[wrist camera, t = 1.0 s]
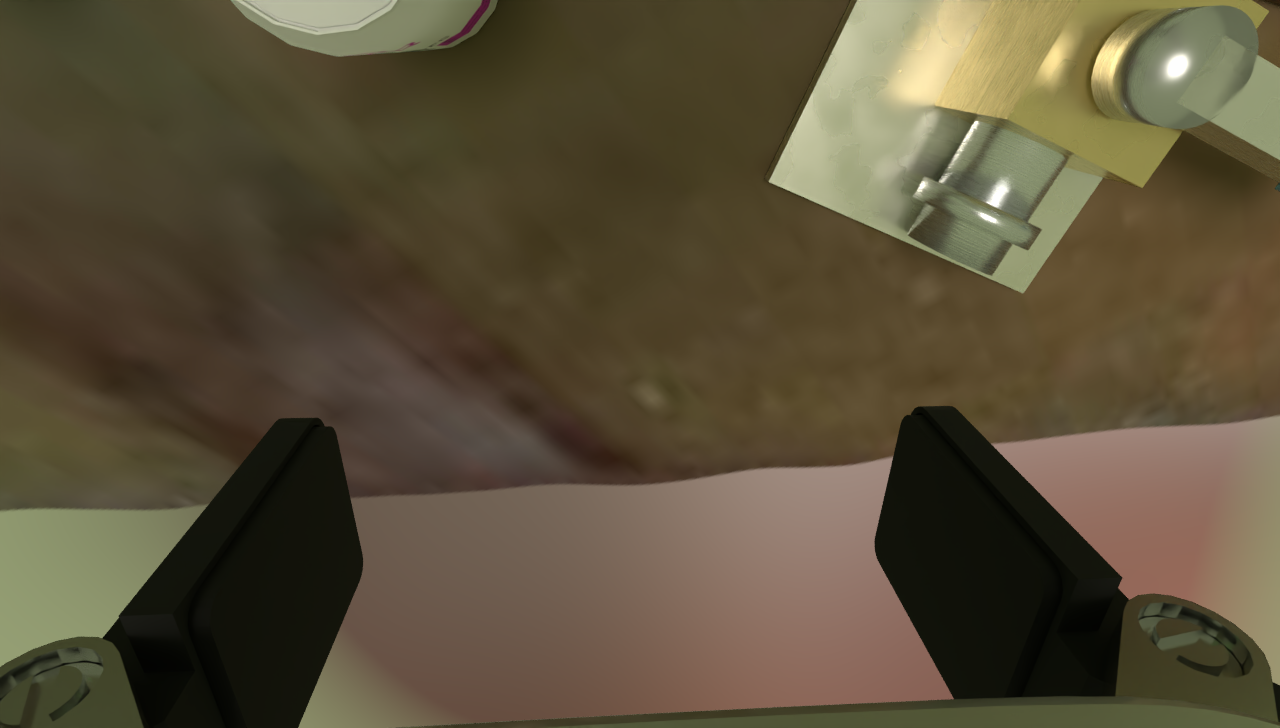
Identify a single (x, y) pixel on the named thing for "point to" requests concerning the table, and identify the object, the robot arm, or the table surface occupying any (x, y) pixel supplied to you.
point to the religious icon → (1274, 1)
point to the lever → (1195, 80)
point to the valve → (970, 125)
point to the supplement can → (369, 23)
